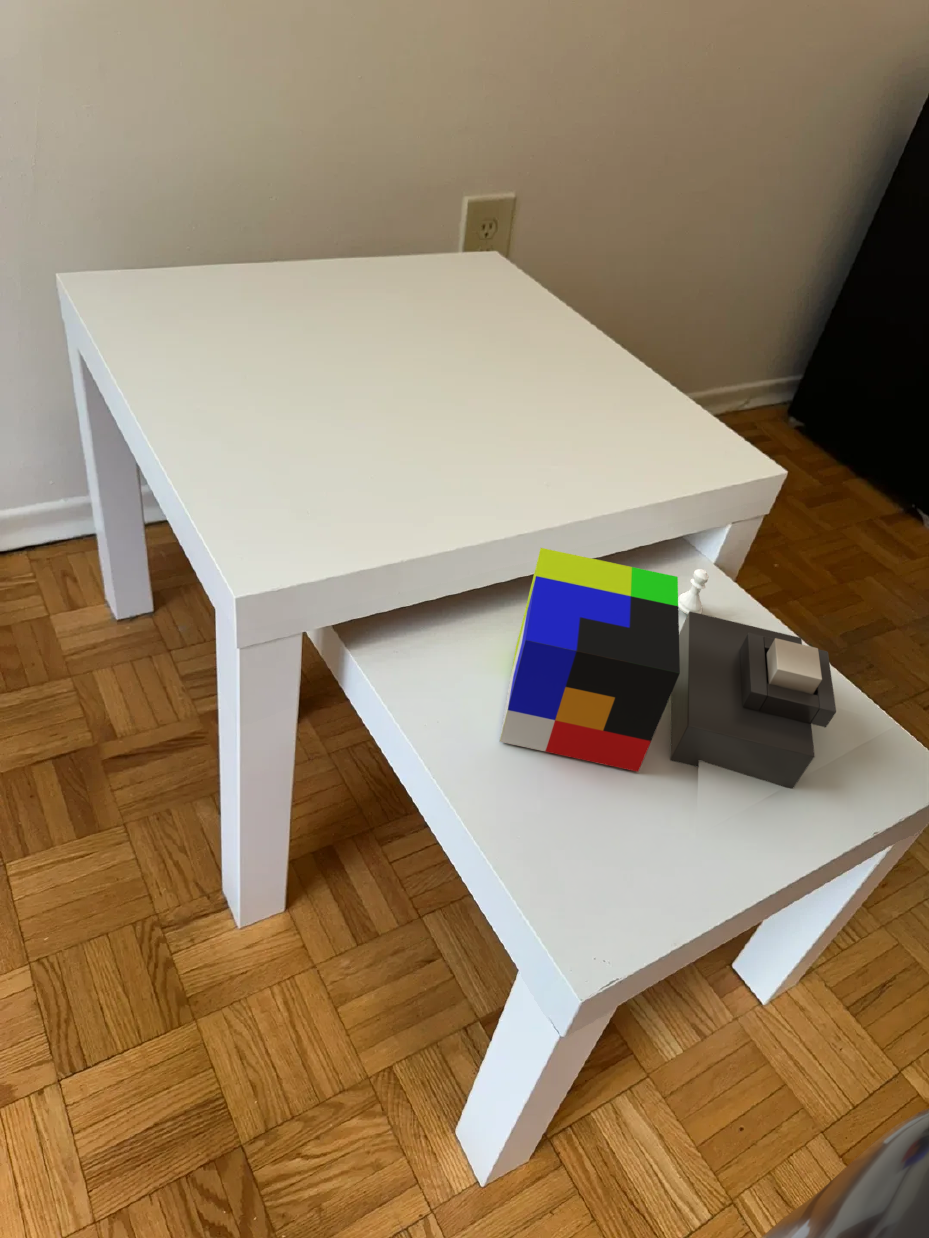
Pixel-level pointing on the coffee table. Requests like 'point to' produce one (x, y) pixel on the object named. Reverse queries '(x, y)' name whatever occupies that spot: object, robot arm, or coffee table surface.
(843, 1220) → the robot arm
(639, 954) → the coffee table surface
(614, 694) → the puzzle toy
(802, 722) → the dark grey block
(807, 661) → the beige push button
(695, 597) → the chess pawn
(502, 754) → the coffee table surface
